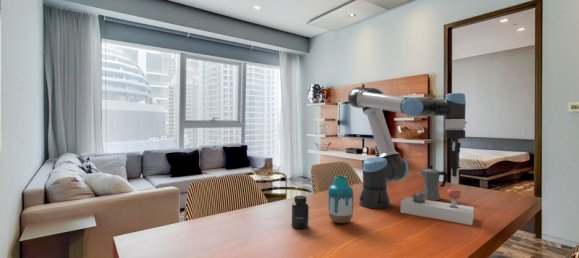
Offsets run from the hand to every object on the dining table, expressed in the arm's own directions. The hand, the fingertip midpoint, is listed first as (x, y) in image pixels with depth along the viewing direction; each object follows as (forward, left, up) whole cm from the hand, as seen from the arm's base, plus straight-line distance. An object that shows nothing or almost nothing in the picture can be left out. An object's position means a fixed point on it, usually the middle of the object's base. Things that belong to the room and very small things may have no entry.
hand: (454, 183), depth 122 cm
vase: (-38, -33, -16) cm, 53 cm away
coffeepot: (-13, +30, -16) cm, 36 cm away
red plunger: (0, 0, -11) cm, 11 cm away
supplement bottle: (-49, -47, -16) cm, 70 cm away
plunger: (-14, 0, -15) cm, 21 cm away
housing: (-7, 0, -15) cm, 17 cm away
